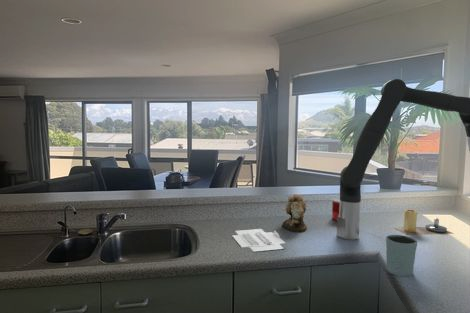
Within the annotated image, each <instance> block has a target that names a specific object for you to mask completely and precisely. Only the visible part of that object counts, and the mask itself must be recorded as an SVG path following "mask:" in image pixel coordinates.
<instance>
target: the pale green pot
mask: <svg viewBox="0 0 470 313" xmlns="http://www.w3.org/2000/svg"><path fill="white" fill-rule="evenodd" d="M385 243H386V244H385V245H386V246H385V247H386V253H385V254H386V256H385V257H386V271H387V272H388V273H390V274H392V275H394V276H398V277H411V276H412V275H413V274H414V264H415V260H416V253H417V252H416V251H417V246H418V240H417V239H416V238H413V237H412V236H411V237H410V236H409V235H403V234H402V235H401V234H390V235H386V236H385Z"/></svg>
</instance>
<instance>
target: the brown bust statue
mask: <svg viewBox="0 0 470 313" xmlns="http://www.w3.org/2000/svg"><path fill="white" fill-rule="evenodd" d="M287 200H288V201H287V203H286V206H285V212H286V214H287V215H289V216H290V217H289V218H288V219H285V220H284V221H283V222H282V226H281V227H283V229H284V230H286V231H288V232H293V233H303V232H306V231H307V229H308V226H307V225H306V224H305V222H304V218H305V217H304V216H305V215H304V214H305V213H306V211H307V204H306V202H305V200H304V198H303V196H302V195H301V194H299V193H296V194H295V193H294V194H293V195H291V196H289V197H288V199H287Z"/></svg>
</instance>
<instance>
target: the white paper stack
mask: <svg viewBox="0 0 470 313" xmlns="http://www.w3.org/2000/svg"><path fill="white" fill-rule="evenodd" d="M234 232H235V234H236V235H235V234H233V235H231V237H232V238H233V239H234V240H235V241H236V243H238V245H239V246H240V247H241V249H244V248H249V249H250V250H251V251H252V252H253V253H255V252H264V251H275V250H284V249H285V248H284V247H283V246H282V245H286V244H287V242H285V241H284V240H283V239H282V238H281V237H280V235H279V233H278V232H277V231H276V230H274V231H273V232H272V231H270V232H266V231H264V229H262V228H254V229H242V230H241V229H240V230H235V231H234Z"/></svg>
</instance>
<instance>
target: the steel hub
mask: <svg viewBox="0 0 470 313" xmlns="http://www.w3.org/2000/svg"><path fill="white" fill-rule="evenodd" d="M439 224H440V219H439V218H438V217H436V218H434V219H433V224H431V223H430V224H425V226H424V227H425V229H426V230H428V231H431V232H436V233H446V232H447V231H448V228H447V227H446V226H443V225H439Z"/></svg>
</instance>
